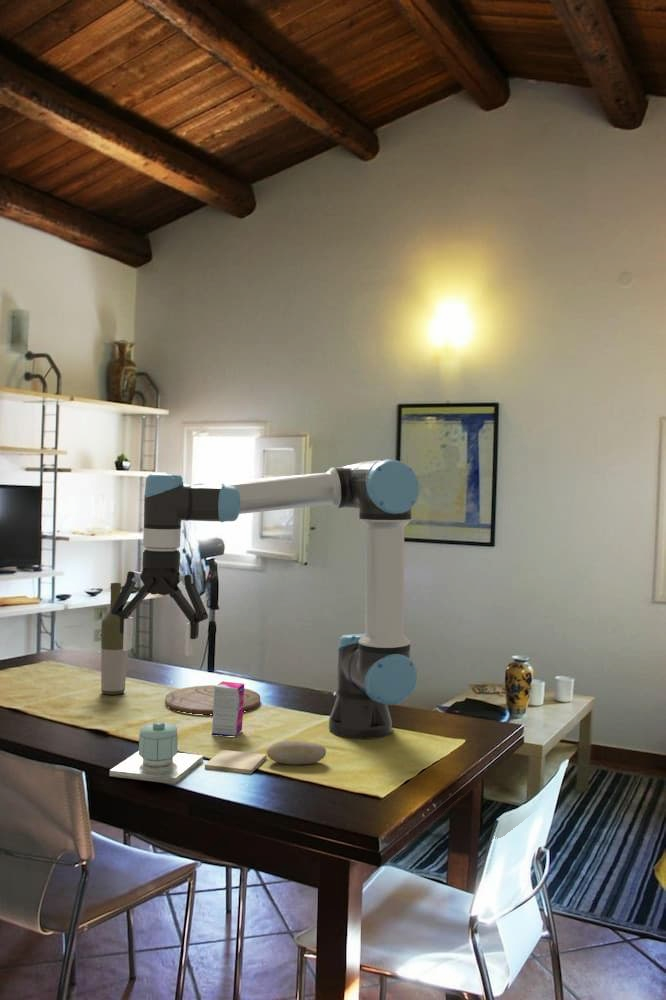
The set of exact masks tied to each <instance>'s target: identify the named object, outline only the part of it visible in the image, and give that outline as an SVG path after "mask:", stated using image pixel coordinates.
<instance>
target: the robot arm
mask: <svg viewBox="0 0 666 1000" xmlns="http://www.w3.org/2000/svg"><path fill="white" fill-rule="evenodd" d="M419 494H420V483H419V479H418V476H417V475H416V473H415V471H414V470H413V469H412V468H411V466H409V465H408V464H406V463H405V462H402V461H400V460H396V459H390V458H386V459H376V460H375V459H374V460H372V459H371V460H365V461H364V460H363V461H359V462H356V463H353V464H348V465H343V466H335V467H330V468H329V469H328V470H327V472H317V473H316V472H315V473H308V474H307V473H306V474H297V475H295V474H294V475H286V476H275V477H264V478H256V479H254V478H253V479H244V480H233V481H225V482H224V481H223V482H211V483H196V484H187V483H184V481H183V477H182V475H180V474H165V473H164V474H163V473H161V474H160V473H151V474H149V475H147V477H146V479H145V487H144V495H143V497H144V499H143V501H144V502H143V504H144V505H143V535H142V536H143V537H142V539H143V540H142V546H143V548H145V549H143V551H142V561H141V562H142V563H141V564H142V571H140V572H139V571H138V570H137V569H134V570H130V571H128V572H127V574H126V580H125V583H124V586H123V587H122V589H121V592H120V595H119V597H118V599H117V601H116V603H115V605H114V607H113V609H112V611H111V613H112V614H113V615H117V616H119V617H120V633H123V634H124V636H123V651H127V652H128V651H129V650H132V649H133V636H134V633H133V632H134V631H133V630H134V617H132V616H131V614H133V612H134V611H135V610H136V609H137V608H138V606H139V605H141V603H142V601H144V599H146V597H147V596H148V595H149V594H151V595H161V596H167V595H169V596H170V598H171V599H173V600H174V602H175V603H176V605H177V606H178V607H179V609H180V610H181V612H182V613H183V614H184V616H185V617H186V618H187V620H188V621H189V622H188V623H185V644H184V645H185V647H184V648H185V651H184V655H185V657H186V656H187V657H189V656H191V655H193V654H194V653H195V651H194V648H195V646H194V644H195V640H196V639H198V637H199V631H200V630H199V629H200V628H199V627H200V626H199V625H200V622H203V621H205V620H207V619H208V618H209V615H208V613H207V609H206V608H205V606H204V605H205V604H204V603H203V601H202V598H201V596H200V593H199V591H198V589H197V586H196V582H195V575H194V574H193V573H188V574H181V573H180V566H181V564H180V563H181V552H180V550H178V549H179V548H181V531H182V530H181V529H182V527H181V526H182V521H188V522H189V521H197V522H220V523H224V522H234V521H235V522H236V521H237V520H238V518H239V516H240V515H243V514H252V513H253V514H254V513H261V512H263V513H264V512H269V511H281V510H289V509H298V508H300V509H301V508H310V507H311V508H312V507H318V506H319V507H321V506H328V505H329V506H331V507H332V508H334V509H341V508H353V509H358V511H359V513H358V514H359V517H358V518H359V521H360V522H361V523H362V524H363V525H364V527H365V611H364V612H365V618H364V619H365V621H364V622H365V624H364V625H365V627H364V628H365V631H364V633H352V634H349V633H348V634H344V635H342V636H340V638H339V640H338V647H337V654H338V655H337V657H338V658H337V683H336V684H337V686H336V687H337V691H336V699H335V700H334V701H335V702H334V704H333V708H332V710H331V713H330V716H329V718H328V729H329V731H330V732H332V733H333V734H335V735H338V736H341V737H345V738H349V739H350V738H351V739H378V738H381V737H385V736H387V735H390V734H391V733H392V730H393V729H392V728H393V723H392V721H393V720H392V717H391V713H390V710H389V707H388V706H394V705H398V704H400V703H403V702H404V701H405V700H407V699H408V698H409V697H410V695H411V694H413V692H415V691H414V690H415V689H416V687H417V683H418V677H419V675H418V670H417V666H416V665H415V663H414V661H413V660H412V659H411V640H410V639H409V638H408V637H407V636H406V635H405V634H404V614H405V613H404V610H405V609H404V608H405V607H404V604H405V603H404V602H405V600H404V599H405V597H404V596H405V595H404V592H405V591H404V588H405V585H404V584H405V583H404V582H405V580H404V579H405V528H406V527H407V525H408V524H409V523H410V522H411V521H412V508H413V507H414V505H415V504H416V503H417V500H418V498H419V497H420V496H419ZM140 580H141V582H142V584H143V585H142V586H141V588H140V589H139V590H138V592H137V593H136V595H135V596H134V597H133V598H132V599H131V600H130V601H129V603H128V604H127V602H128V600H129V598H130V596H131V594H132V592H133V591H134V589H135V587H136V584H137V583H138V582H139V581H140ZM180 582H181V583H182V585H183V586H184V587H185V590H186V593H187V595H188V597H189V600H190V603H191V604H190V603H189V601H188V600H187V598H186V597H185V596H184V594H183V592H182V590H181V589H180V587H179V586H178V585H179V583H180ZM126 604H127V605H126ZM125 605H126V606H125Z"/></svg>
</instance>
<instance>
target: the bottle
mask: <svg viewBox="0 0 666 1000" xmlns="http://www.w3.org/2000/svg"><path fill="white" fill-rule="evenodd" d="M121 588H122V583H121V582H111V583H110V588H109V589H110V601H109V602H110V604H109V605H110V607H109V608H110V609H109V611H108V613H107V614H106V616H104V618H103V619H102V621H101V630H100V632H101V633H100V634H101V635H100V636H101V639H100V641H101V644H100V645H101V647H100V649H101V652H100V653H101V655H100V657H101V659H100V660H101V661H100V662H101V667H100V669H101V670H100V672H101V673H100V676H101V677H100V679H101V680H100V681H101V682H100V683H101V684H100V688H101V693H103V694H104V695H108V696H116V695H120V694H122V693H124V692H125V690H126V682H127V681H126V678H127V677H126V676H127V659H128V658H127V655H128V654H127V653H128V650H127V651H123V636H124V634H123V633H120V617H119V616H117V615H113V614H112V613H111V611H112V609H113V607H114V605H115V603H116V601H117V599H118V597H119V595H120V593H121V591H122V589H121Z"/></svg>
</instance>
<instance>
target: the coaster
mask: <svg viewBox="0 0 666 1000" xmlns="http://www.w3.org/2000/svg"><path fill="white" fill-rule="evenodd" d="M265 758H266V759H267V753H266V754H265V753H254V752H247V751H237V750H226V749H221V750H220V751H219V752H218V753H217V754H215V756H213V757H212V758H210V759H209V760H208V761H207V762H206V763H205V764H204V769H205V770H206V769H207V770H215V771H224V772H230V773H231V772H232V773H241V774H250V775H251V774H253V772H254V771H255V770H256V769H257V768H258V767H259V766H260V765H261V764H262V763H263V762H264V761H265V760H266V759H265ZM264 759H265V760H264ZM263 760H264V761H263ZM262 761H263V762H262ZM261 762H262V763H261ZM260 763H261V764H260ZM259 764H260V765H259ZM258 765H259V766H258ZM257 766H258V767H257ZM256 767H257V768H256ZM255 768H256V769H255Z"/></svg>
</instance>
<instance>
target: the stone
mask: <svg viewBox="0 0 666 1000" xmlns="http://www.w3.org/2000/svg"><path fill="white" fill-rule="evenodd" d="M326 755H327V750H326V748H325V746H323V745H322V744H320V743H315V742H311V741H310V742H309V741H302V740H281V741H277V742H275V743H273V744H271V745H270V746H269V747H268V748H267V750H266V756H267V757H268V758H269V759H270V760H272V761H274V762H276V763H280V764H285V765H295V766H296V765H297V766H299V765H300V766H301V765H310V764H315V763H317V762H319V761H322V760H323V759H324V758H325V757H326Z"/></svg>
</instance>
